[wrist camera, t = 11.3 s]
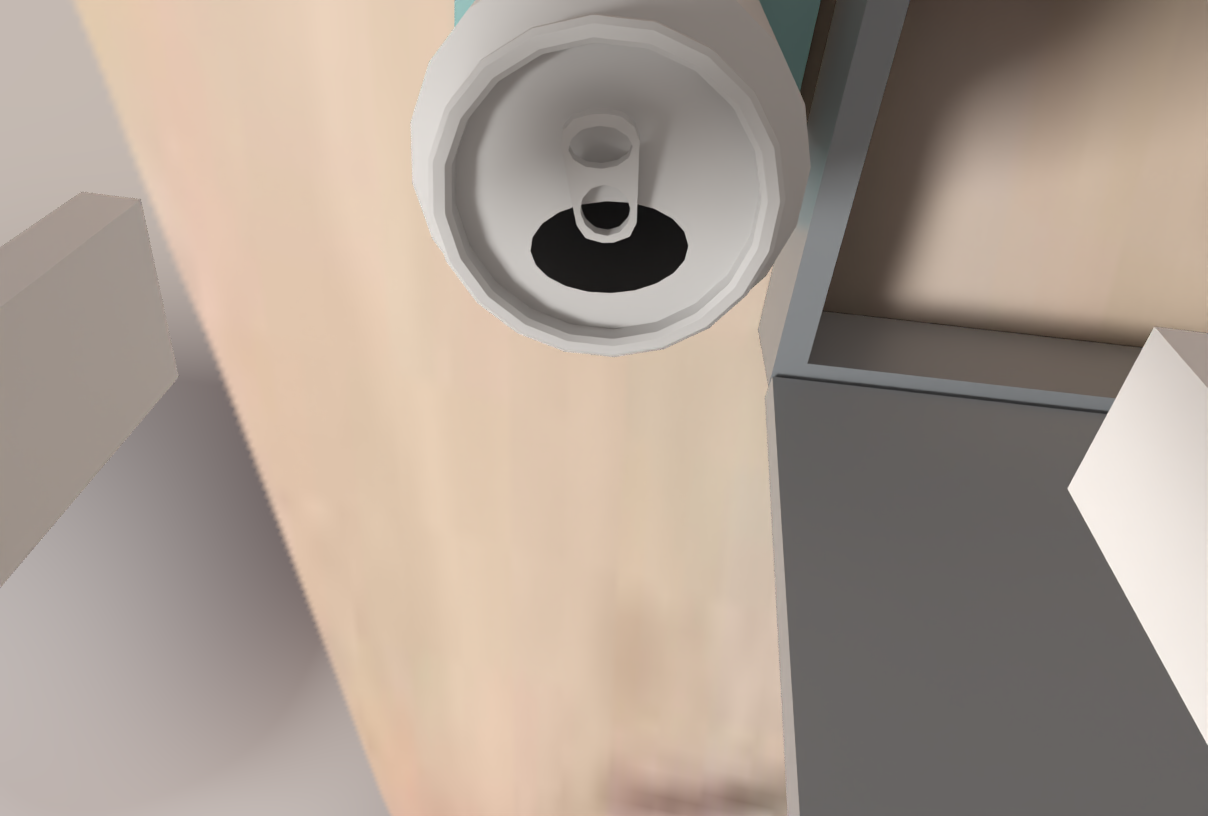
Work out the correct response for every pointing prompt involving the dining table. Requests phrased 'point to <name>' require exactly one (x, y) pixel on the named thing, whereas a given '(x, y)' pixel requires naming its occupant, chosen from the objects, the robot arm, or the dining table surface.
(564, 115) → the can
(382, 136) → the dining table surface
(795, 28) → the pad
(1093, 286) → the dining table surface
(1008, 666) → the case
